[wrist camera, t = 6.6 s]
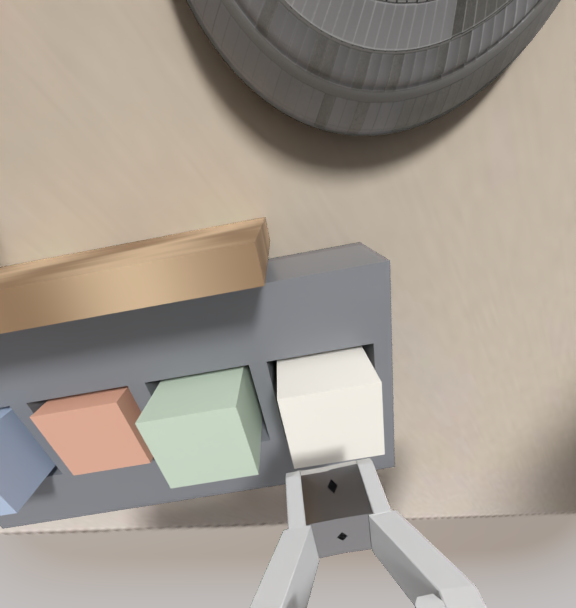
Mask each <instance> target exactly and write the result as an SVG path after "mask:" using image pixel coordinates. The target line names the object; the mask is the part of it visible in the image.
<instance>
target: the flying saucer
mask: <svg viewBox="0 0 576 608" xmlns="http://www.w3.org/2000/svg"><path fill="white" fill-rule="evenodd" d="M187 2H188V4H189V6H190V8H191V10H192V12H193V13H194V15H195V17H196V19H197V20H198V22H199V24H200V26H201V27H202V29H203V31H204V32H205V34H206V35H207V37H208V38H209V40H210V41H211V43H212V44H213V46H214V47H215V48H216V50H217V51H218V52H219V54H220V55H221V56H222V58H223V59H224V60H225V62H226V63H227V64H228V65H229V66H230V67H231V69H232V70H233V71H234V72H235V73H236V74H237V75H238V76H239V77H240V78H241V79H242V80H243V82H244V83H246V84H247V85H248V86H249V87H250V88H251V89H252V90H253V91H254V92H255V93H257V94H258V95H259V96H260V97H261V98H263V99H264V100H265V101H266V102H268V103H269V104H271V105H272V106H273V107H275V108H276V109H278V110H280V111H281V112H283V113H284V114H286V115H288V116H290V117H292V118H294V119H296V120H298V121H300V122H302V123H304V124H307V125H309V126H312V127H315V128H318V129H321V130H325V131H329V132H333V133H338V134H344V135H355V136H372V135H383V134H391V133H395V132H400V131H404V130H408V129H411V128H414V127H417V126H420V125H423V124H425V123H428V122H430V121H432V120H435V119H437V118H439V117H441V116H443V115H445V114H447V113H448V112H450V111H452V110H454V109H455V108H457V107H459V106H460V105H462V104H463V103H465V102H466V101H468V100H469V99H471V98H472V97H474V96H475V95H476V94H477V93H479V92H480V91H481V90H483V89H484V88H485V87H486V86H488V85H489V84H490V83H491V82H492V81H493V80H494V79H496V78H497V77H498V76H499V75H500V74H501V73H502V72H503V71H504V70H505V69H506V68H507V67H508V66H509V65H510V64H511V63H512V62H513V61H514V60H515V59H516V58H517V57H518V56H519V55H520V53H521V52H522V51H523V50H524V49H525V48H526V46H527V45H528V44H529V43H530V42H531V41H532V39H533V38H534V37H535V35H536V34H537V33H538V32H539V30H540V29H541V28H542V26H543V25H544V24H545V22H546V21H547V19H548V18H549V17H550V15H551V14H552V12H553V11H554V9H555V8H556V6H557V5H558V3H559V2H560V0H187Z"/></svg>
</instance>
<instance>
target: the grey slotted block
mask: <svg viewBox="0 0 576 608" xmlns="http://www.w3.org/2000/svg"><path fill="white" fill-rule="evenodd" d="M355 346H362V348H363V349H364V351H365V353H366V355H367V357H368V358H369V360H370V362H371V364H372V366H373V367H374V369H375V371H376V373H377V375H378V376H379V378H380V380H381V382H382V401H383V424H384V446H385V455H379V456H372V457H366V458H360V459H353V460H347V461H341V462H335V463H328V464H322V465H316V466H309V467H303V468H297V469H294V465H293V461H292V457H291V453H290V449H289V445H288V441H287V437H286V433H285V429H284V425H283V421H282V417H281V413H280V409H279V405H278V401H277V360H280V359H285V358H291V357H297V356H303V355H309V354H314V353H320V352H326V351H332V350H338V349H343V348H349V347H355ZM245 365H249V367H250V371H251V374H252V378H253V381H254V385H255V388H256V392H257V395H258V399H259V402H260V406H261V409H262V429H261V445H260V462H259V475H253V476H247V477H240V478H234V479H228V480H222V481H215V482H209V483H203V484H196V485H190V486H184V487H178V488H170V486H169V484H168V482H167V481H166V479H165V477H164V475H163V473H162V472H161V470H160V468H159V466H158V464H157V463H156V461H155V459H154V457H153V459H152V461H151V463H148V464H142V465H136V466H130V467H123V468H117V469H111V470H105V471H99V472H93V473H87V474H80V475H73V474H72V473H71V471H70V470H69V469H68V467H67V466H66V465H65V463H64V462H63V461H62V460H61V458H60V457H59V456H58V454H57V453H56V452H55V450H54V449H53V448H52V446H51V445H50V444H49V442H48V441H47V440H46V438H45V437H44V436H43V435H42V433H41V432H40V431H39V429H38V428H37V427H36V425H35V424H34V423H33V421H32V420H31V419H30V416H31V415H32V414H34V413H35V412H36V411H37V410H38V409H39V408H40V407H41V406H42V405H43V404H44V403H46V402H47V401H48V400H49V399H53V398H59V397H65V396H71V395H77V394H82V393H88V392H94V391H100V390H106V389H111V388H117V387H123V386H128V388H129V390H130V392H131V393H132V395H133V397H134V399H135V401H136V403H137V405H138V407H139V409H140V411H141V412H142V411H143V409H144V408H145V406H146V405H147V403H148V401H149V400H150V398H151V396H152V395H153V393H154V391H155V390H156V388H157V386H158V385H159V383H160V381H161V380H164V379H169V378H175V377H181V376H187V375H193V374H198V373H204V372H210V371H216V370H222V369H227V368H233V367H239V366H245ZM7 406H10V407H11V409H12V410H13V411H14V412H15V414H16V415H17V416H18V418H19V419H20V420H21V421H22V423H23V424H24V425H25V427H26V428H27V429H28V430H29V432H30V433H31V434H32V435H33V437H34V438H35V439H36V441H37V442H38V443H39V444H40V446H41V447H42V448H43V450H44V451H45V452H46V453H47V455H48V456H49V457H50V458H51V460H52V461H53V462H54V464H55V467H54V468H53V469H52V470H51V472H50V473H49V474H48V475H47V477H46V478H45V479H44V480H43V482H42V483H41V484H40V485H39V487H38V488H37V489H36V490H35V492H34V493H33V494H32V495H31V497H30V498H29V499H28V500H27V502H26V503H25V504H24V505H23V507H22V508H21V509H20V510H19V511H18V513H14V514H8V515H2V516H0V526H1V527H2V528H3V529H4V528H10V527H16V526H23V525H29V524H35V523H42V522H48V521H54V520H61V519H67V518H73V517H80V516H86V515H92V514H99V513H105V512H111V511H118V510H124V509H130V508H137V507H143V506H149V505H156V504H162V503H168V502H175V501H181V500H188V499H194V498H200V497H207V496H213V495H219V494H226V493H232V492H238V491H245V490H251V489H257V488H264V487H270V486H276V485H283V484H286V480H285V479H286V473H290V472H296V471H303V470H309V469H315V468H321V467H326V466H330V465H335V464H340V463H345V462H350V461H357V460H362V459H367V458H370V459H371V460H372V461H373V464H374V467H375V469H376V470H378V469H384V468H390V467H395V457H394V412H393V368H392V324H391V280H390V260H388V259H387V258H385V257H383V256H382V255H380V254H378V253H377V252H375V251H373V250H372V249H370V248H369V247H367V246H365V245H364V244H362V243H360V242H358V243H353V244H347V245H342V246H336V247H331V248H326V249H320V250H315V251H309V252H304V253H298V254H293V255H288V256H282V257H277V258H271V259H268V263H267V271H266V279H265V286H261V287H256V288H250V289H245V290H239V291H234V292H228V293H223V294H217V295H212V296H206V297H201V298H195V299H190V300H184V301H178V302H173V303H167V304H162V305H156V306H151V307H145V308H140V309H134V310H129V311H123V312H118V313H112V314H107V315H101V316H96V317H90V318H85V319H79V320H74V321H68V322H63V323H57V324H52V325H46V326H41V327H35V328H30V329H24V330H19V331H13V332H8V333H2V334H0V408H1V407H7Z"/></svg>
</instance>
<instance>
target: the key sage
mask: <svg viewBox="0 0 576 608" xmlns="http://www.w3.org/2000/svg"><path fill="white" fill-rule="evenodd" d="M135 425H136V427H137V428H138V430H139V432H140V434H141V436H142V437H143V439H144V441H145V443H146V445H147V446H148V448H149V450H150V452H151V454H152V455H153V457H154V459H155V461H156V463H157V464H158V466H159V468H160V470H161V472H162V473H163V475H164V477H165V479H166V481H167V482H168V484H169V486H170V488H178V487H184V486H190V485H196V484H203V483H209V482H215V481H222V480H228V479H234V478H240V477H247V476H253V475H259V462H260V445H261V429H262V409H261V406H260V402H259V399H258V395H257V392H256V388H255V385H254V381H253V378H252V374H251V371H250V367H249V365H245V366H239V367H233V368H227V369H222V370H216V371H210V372H204V373H198V374H193V375H187V376H181V377H175V378H169V379H164V380H161V381H160V383H159V385H158V386H157V388H156V390H155V391H154V393H153V395H152V396H151V398H150V400H149V401H148V403H147V405H146V406H145V408H144V409H143V411H142V413H141V414H140V416H139V418H138V419H137V421H136V423H135Z"/></svg>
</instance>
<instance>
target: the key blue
mask: <svg viewBox="0 0 576 608" xmlns="http://www.w3.org/2000/svg"><path fill="white" fill-rule="evenodd" d="M54 467H55V464H54V462H53V461H52V460H51V458H50V457H49V456H48V455H47V453H46V452H45V451H44V450H43V448H42V447H41V446H40V444H39V443H38V442H37V441H36V439H35V438H34V437H33V435H32V434H31V433H30V432H29V430H28V429H27V428H26V427H25V425H24V424H23V423H22V421H21V420H20V419H19V418H18V416H17V415H16V414H15V412H14V411H13V410H12V409H11V407H10V406H7V407H1V408H0V516H2V515H8V514H14V513H18V511H19V510H20V509H21V508H22V507H23V505H24V504H25V503H26V502H27V500H28V499H29V498H30V497H31V495H32V494H33V493H34V492H35V490H36V489H37V488H38V487H39V485H40V484H41V483H42V482H43V480H44V479H45V478H46V477H47V475H48V474H49V473H50V472H51V470H52V469H53V468H54Z"/></svg>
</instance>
